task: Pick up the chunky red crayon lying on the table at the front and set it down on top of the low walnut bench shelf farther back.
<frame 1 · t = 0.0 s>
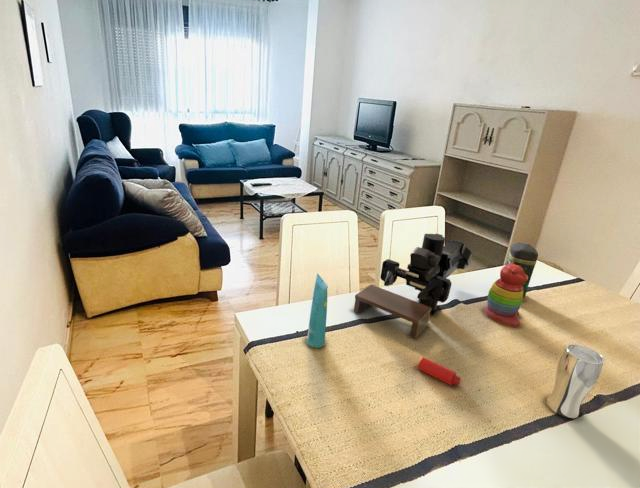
hand: (401, 290, 100), 17 cm above the table, tool horizontal, fingers open, 9 cm apart
silver metal cylinder: (561, 408, 86), on the table
coffee jar: (510, 294, 136), on the table
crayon: (435, 376, 94), on the table
stacking bear: (500, 316, 122), on the table
shelf: (389, 318, 118), on the table
tube: (315, 342, 104), on the table
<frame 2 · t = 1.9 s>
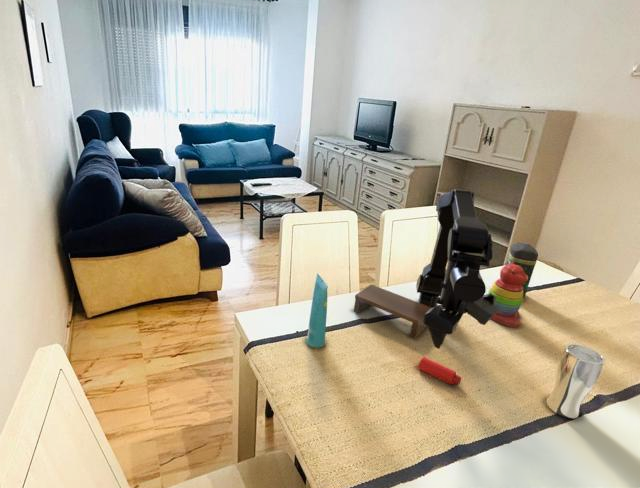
hand: (444, 339, 90), 11 cm above the table, tool pointing down, fingers open, 9 cm apart
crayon: (435, 375, 94), on the table, tilted 9°
everything else where it was.
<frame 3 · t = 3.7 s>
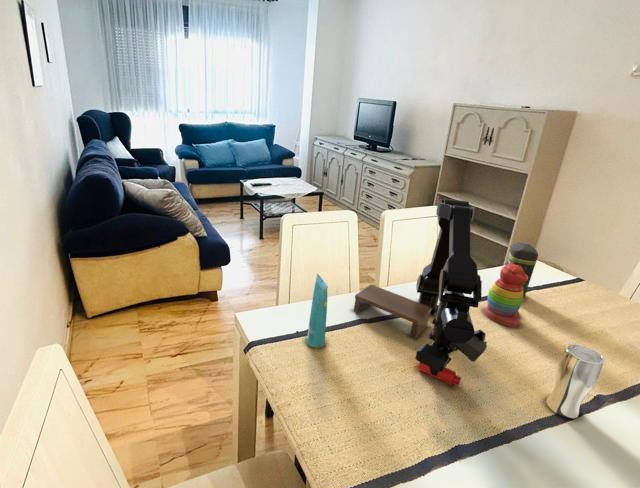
hand: (436, 371, 94), 1 cm above the table, tool pointing down, fingers closed on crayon, 3 cm apart
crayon: (435, 376, 94), on the table, tilted 16°, touching gripper
everything else where it was.
when the fingers open (7 cm above the table, at t = 8.0 s): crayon stays where it is, resting on shelf.
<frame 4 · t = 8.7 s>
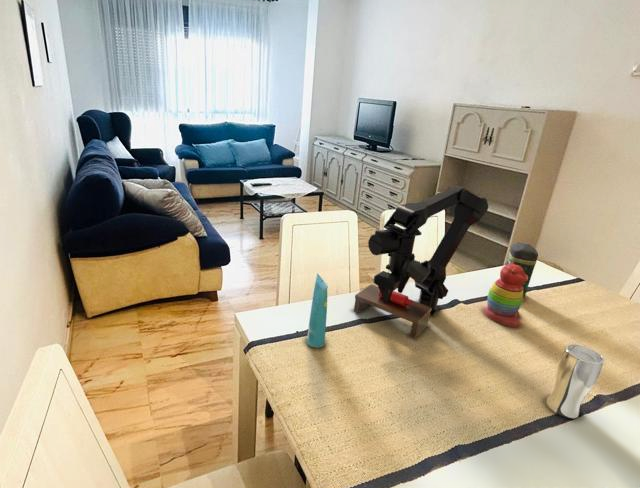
hand: (393, 297, 115), 7 cm above the table, tool pointing down, fingers open, 9 cm apart
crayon: (392, 301, 115), point 6 cm above the table, tilted 11°, touching shelf
everything else where it was.
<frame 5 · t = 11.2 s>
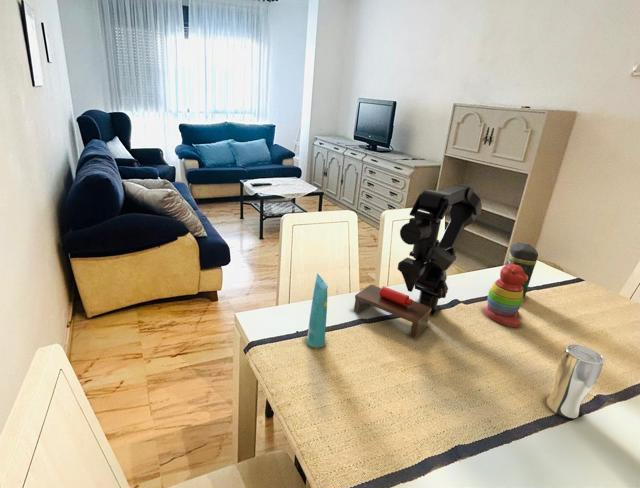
hand: (416, 285, 112), 12 cm above the table, tool pointing down, fingers open, 9 cm apart
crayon: (392, 301, 115), point 6 cm above the table, tilted 28°, touching shelf
everything else where it was.
at the end: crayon inside the target area on the shelf (0.4 cm from its centre), point 6.2 cm above the shelf's base; the gripper is holding nothing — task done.
